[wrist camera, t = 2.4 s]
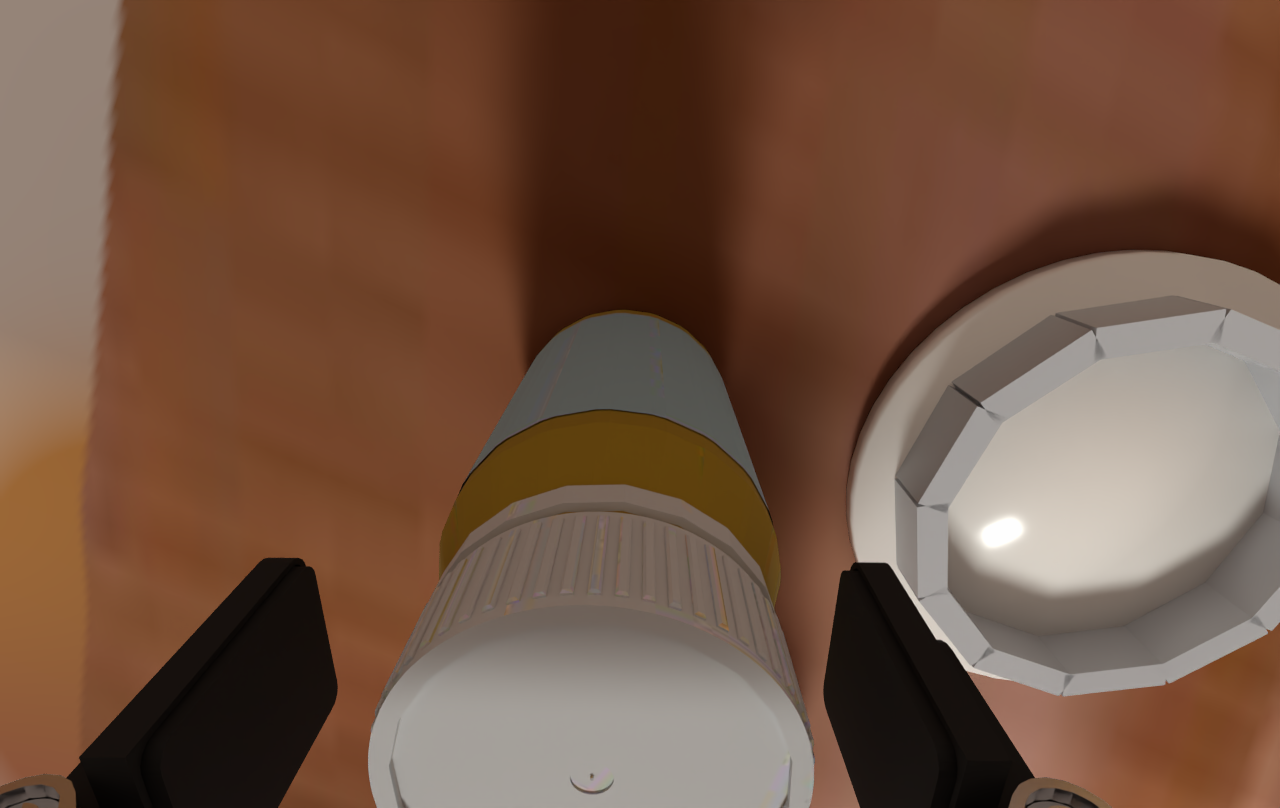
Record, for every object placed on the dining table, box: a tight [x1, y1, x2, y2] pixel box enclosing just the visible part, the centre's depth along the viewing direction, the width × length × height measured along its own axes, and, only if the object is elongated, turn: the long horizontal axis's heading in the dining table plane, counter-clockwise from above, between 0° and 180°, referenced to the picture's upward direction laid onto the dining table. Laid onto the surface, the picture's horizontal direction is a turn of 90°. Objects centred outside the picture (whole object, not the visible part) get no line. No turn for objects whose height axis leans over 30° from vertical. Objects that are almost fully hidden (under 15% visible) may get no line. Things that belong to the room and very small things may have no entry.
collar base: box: [846, 249, 1280, 696], centre depth 22 cm, size 17×17×3 cm
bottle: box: [368, 310, 815, 808], centre depth 16 cm, size 7×7×15 cm
